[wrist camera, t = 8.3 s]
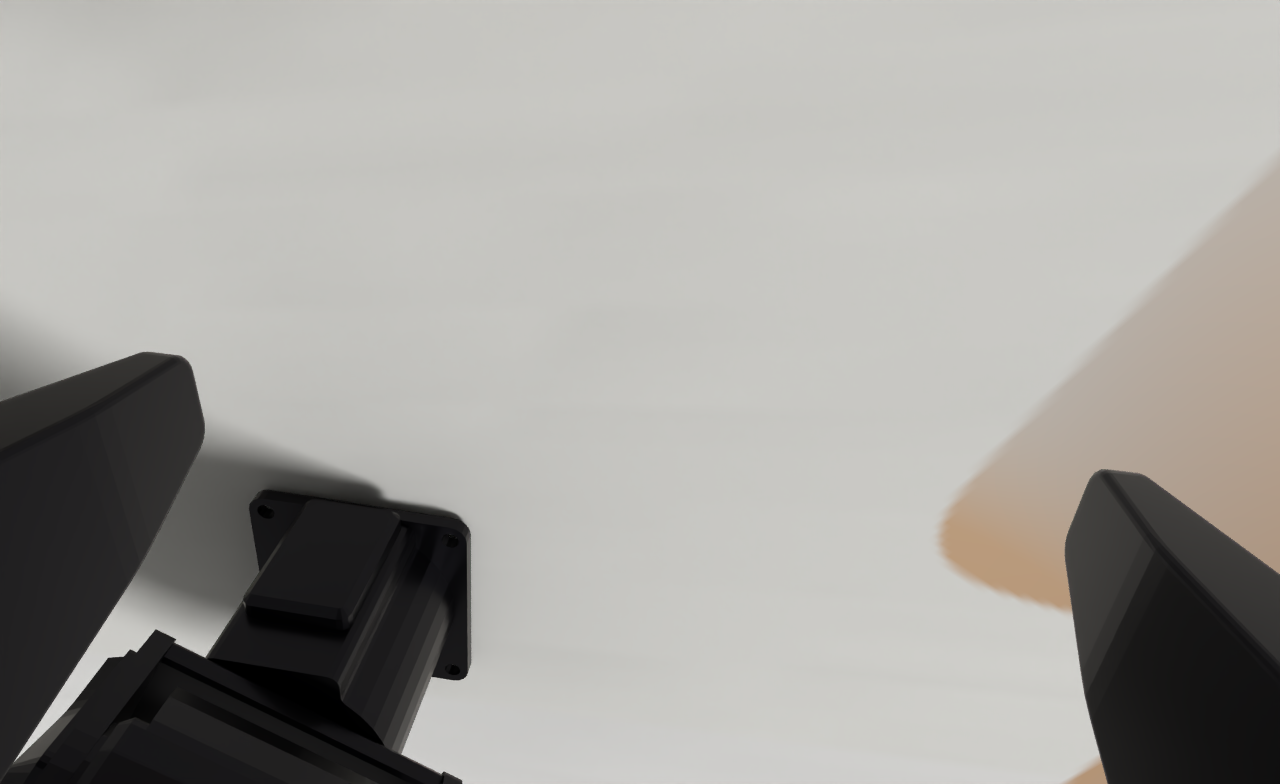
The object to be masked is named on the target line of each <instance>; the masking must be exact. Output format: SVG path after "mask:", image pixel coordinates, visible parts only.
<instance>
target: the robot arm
mask: <svg viewBox="0 0 1280 784" xmlns="http://www.w3.org/2000/svg"><path fill="white" fill-rule="evenodd" d="M204 433H205V423H204V417H203V413H202V409H201V404H200V400H199V395H198V391H197V387H196V382H195V378H194V374H193V370H192V367H191V365H190V364H189V362H188V361H187V360H186V359H185V358H183V357H182V356H179V355H171V354H163V353H155V352H142V353H138V354H135V355H132V356H129V357H127V358H124V359H121V360H118V361H115V362H112V363H109V364H107V365H104V366H101V367H98V368H95V369H92V370H89V371H87V372H84V373H81V374H78V375H75V376H72V377H70V378H67V379H64V380H61V381H58V382H55V383H52V384H50V385H47V386H44V387H41V388H38V389H35V390H32V391H30V392H27V393H24V394H21V395H18V396H15V397H12V398H10V399H7V400H4V401H1V402H0V784H462V780H460V779H458V778H456V777H454V776H452V775H450V774H448V773H446V772H443V773H442V774H440V773H438V772H436V771H434V770H432V769H430V768H428V767H426V766H424V765H422V764H420V763H418V762H416V761H414V760H412V759H410V758H408V757H406V756H404V755H402V754H401V753H402V751H403V748H404V746H405V743H406V740H407V738H408V735H409V733H410V730H411V728H412V725H413V723H414V720H415V717H416V715H417V712H418V710H419V707H420V705H421V702H422V699H423V697H424V694H425V692H426V689H427V687H428V684H429V682H430V679H431V677H437V678H443V679H449V680H461V679H464V678H465V677H466V676H467V673H468V671H469V668H470V665H471V534H470V530H469V528H468V527H467V525H466V524H464V523H463V522H461V521H459V520H456V519H452V518H446V517H439V516H433V515H426V514H420V513H413V512H407V511H401V510H394V509H388V508H381V507H375V506H368V505H362V504H356V503H349V502H343V501H336V500H330V499H323V498H317V497H311V496H304V495H298V494H291V493H285V492H278V491H272V490H263V491H261V492H259V493H258V494H257V495H256V497H255V498H254V499H253V501H252V502H251V503H250V506H249V511H250V517H251V523H252V529H253V535H254V541H255V547H256V553H257V559H258V565H259V571H260V572H259V574H258V575H257V577H256V578H255V580H254V581H253V583H252V584H251V586H250V587H249V589H248V590H247V592H246V593H245V595H244V598H243V601H242V603H241V604H240V606H239V607H238V609H237V610H236V612H235V613H234V615H233V616H232V618H231V620H230V621H229V623H228V624H227V626H226V627H225V629H224V630H223V632H222V633H221V635H220V636H219V638H218V639H217V641H216V642H215V644H214V645H213V647H212V648H211V650H210V651H209V653H208V655H207V656H206V658H205V657H202V656H200V655H198V654H196V653H194V652H192V651H190V650H188V649H186V648H184V647H182V646H180V645H178V644H176V643H174V642H175V641H176V639H175V638H173V637H171V636H169V635H166V634H164V633H162V632H160V631H158V630H155V631H154V632H153V633H152V635H151V636H150V637H149V638H148V640H147V641H146V642H145V643H144V644H143V646H142V647H141V648H140V649H139V650H138V652H135V651H133V650H131V649H130V650H129V651H128V653H127V654H126V655H125V656H124V657H112V658H108V659H107V660H106V662H105V663H104V664H103V665H102V667H101V668H100V669H99V671H98V672H97V673H96V675H95V676H94V677H93V678H92V680H91V681H90V682H89V684H88V685H87V686H86V688H85V689H84V690H83V691H82V693H81V694H80V695H79V697H78V698H77V699H76V700H75V702H74V703H73V704H72V705H71V706H70V707H69V709H68V710H67V711H66V712H65V713H64V714H63V715H62V716H61V717H60V718H59V719H58V720H57V721H56V722H55V723H54V724H53V725H52V726H51V727H50V728H49V729H48V730H47V731H46V732H45V733H44V734H43V735H42V736H41V737H40V738H39V739H38V740H37V741H36V742H35V743H34V744H32V745H31V746H30V747H29V748H28V749H27V750H26V751H25V752H24V753H23V754H22V755H21V756H20V757H19V758H18V759H17V760H16V761H15V759H16V758H17V756H18V755H19V753H20V752H21V750H22V749H23V747H24V746H25V744H26V742H27V741H28V739H29V738H30V736H31V735H32V733H33V732H34V730H35V729H36V727H37V726H38V724H39V722H40V721H41V719H42V718H43V716H44V715H45V713H46V712H47V710H48V709H49V707H50V706H51V704H52V702H53V701H54V699H55V698H56V696H57V695H58V693H59V692H60V690H61V689H62V687H63V686H64V684H65V682H66V681H67V679H68V678H69V676H70V675H71V673H72V672H73V670H74V669H75V667H76V665H77V664H78V662H79V661H80V659H81V658H82V656H83V655H84V653H85V652H86V650H87V649H88V647H89V645H90V644H91V642H92V641H93V639H94V638H95V636H96V635H97V633H98V632H99V630H100V629H101V627H102V625H103V624H104V622H105V621H106V619H107V618H108V616H109V615H110V613H111V612H112V610H113V609H114V607H115V605H116V604H117V602H118V601H119V599H120V598H121V596H122V595H123V593H124V592H125V590H126V589H127V587H128V585H129V584H130V582H131V581H132V579H133V577H134V576H135V574H136V572H137V571H138V569H139V567H140V566H141V564H142V562H143V560H144V559H145V557H146V555H147V553H148V551H149V549H150V548H151V546H152V544H153V542H154V540H155V538H156V536H157V534H158V532H159V530H160V528H161V526H162V524H163V522H164V520H165V518H166V516H167V514H168V512H169V510H170V508H171V506H172V504H173V502H174V500H175V498H176V496H177V494H178V492H179V490H180V488H181V486H182V484H183V482H184V480H185V478H186V476H187V474H188V472H189V470H190V468H191V466H192V464H193V462H194V460H195V458H196V456H197V454H198V452H199V450H200V448H201V445H202V443H203V439H204ZM265 505H266V506H269V507H270V508H271V509H272V510H271V509H268V508H267V507H266V506H265ZM447 534H451V535H454V536H455V537H456V538H451V537H449V536H448V535H447ZM1065 562H1066V570H1067V577H1068V584H1069V591H1070V598H1071V605H1072V613H1073V620H1074V627H1075V634H1076V641H1077V648H1078V655H1079V663H1080V670H1081V676H1082V682H1083V688H1084V694H1085V699H1086V703H1087V707H1088V711H1089V716H1090V720H1091V724H1092V727H1093V731H1094V735H1095V739H1096V742H1097V746H1098V750H1099V753H1100V757H1101V761H1102V765H1103V768H1104V772H1105V776H1106V779H1107V783H1108V784H1280V574H1278V573H1277V572H1276V571H1274V570H1273V569H1272V568H1270V567H1269V566H1268V565H1266V564H1265V563H1263V562H1262V561H1261V560H1259V559H1258V558H1257V557H1255V556H1254V555H1253V554H1251V553H1250V552H1249V551H1247V550H1246V549H1245V548H1243V547H1242V546H1240V545H1239V544H1238V543H1236V542H1235V541H1234V540H1232V539H1231V538H1229V537H1228V536H1227V535H1225V534H1224V533H1223V532H1221V531H1220V530H1219V529H1217V528H1216V527H1215V526H1213V525H1212V524H1210V523H1209V522H1208V521H1206V520H1205V519H1204V518H1202V517H1201V516H1200V515H1198V514H1197V513H1196V512H1194V511H1193V510H1191V509H1190V508H1189V507H1187V506H1186V505H1185V504H1183V503H1182V502H1181V501H1179V500H1178V499H1176V498H1175V497H1174V496H1172V495H1171V494H1170V493H1168V492H1167V491H1166V490H1164V489H1163V488H1161V487H1160V486H1159V485H1157V484H1156V483H1155V482H1153V481H1152V480H1150V479H1149V478H1148V477H1146V476H1145V475H1142V474H1139V473H1133V472H1125V471H1116V470H1108V469H1107V470H1106V469H1101V470H1099V471H1097V472H1095V473H1094V474H1093V476H1092V477H1091V478H1090V480H1089V482H1088V484H1087V487H1086V489H1085V491H1084V494H1083V496H1082V499H1081V501H1080V504H1079V506H1078V509H1077V511H1076V514H1075V516H1074V519H1073V521H1072V523H1071V526H1070V529H1069V531H1068V534H1067V537H1066V542H1065ZM14 761H15V762H14ZM13 762H14V763H13Z"/></svg>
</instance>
